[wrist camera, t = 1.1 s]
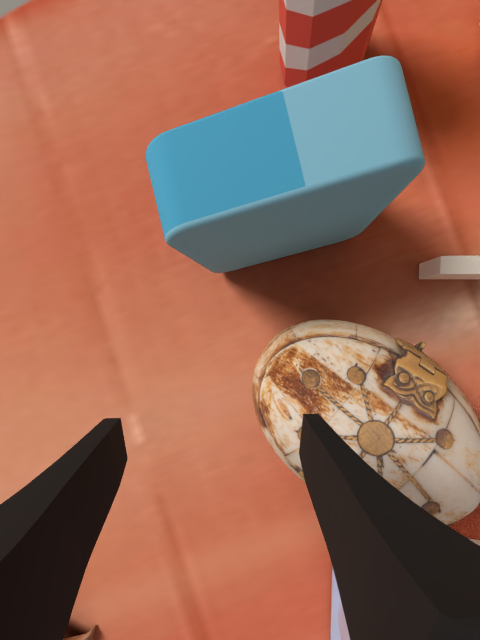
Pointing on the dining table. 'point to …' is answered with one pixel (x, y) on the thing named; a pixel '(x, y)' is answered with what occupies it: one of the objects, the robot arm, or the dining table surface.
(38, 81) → the dining table surface
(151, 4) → the dining table surface
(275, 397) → the trinket box
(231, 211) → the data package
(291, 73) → the beverage can
